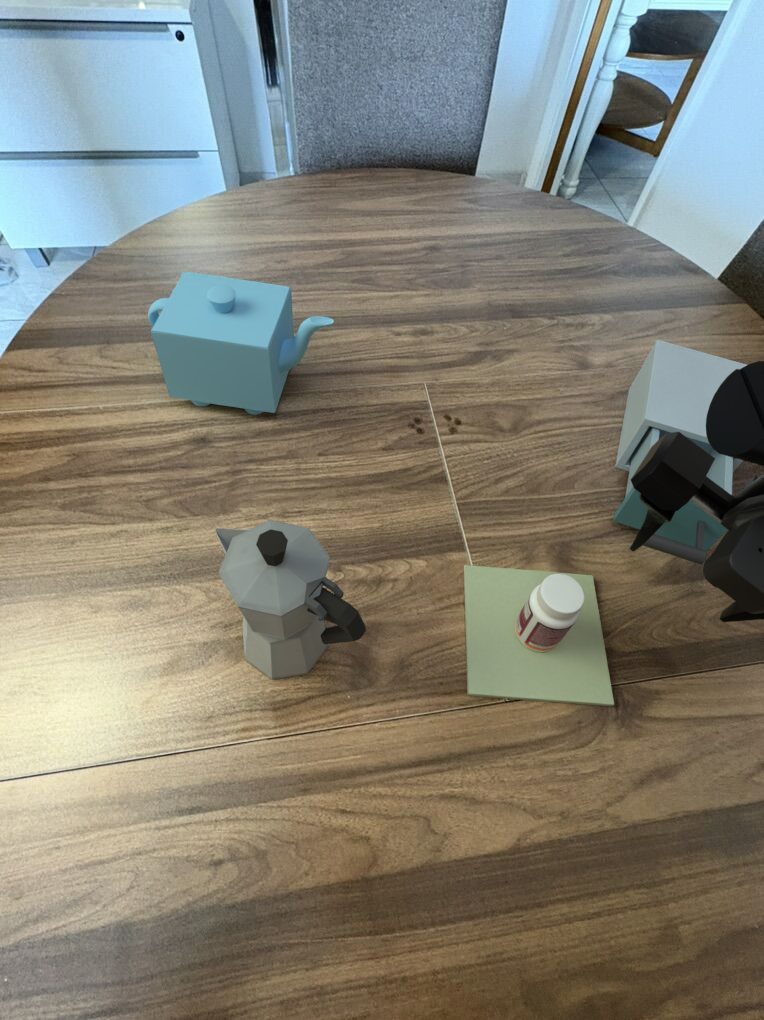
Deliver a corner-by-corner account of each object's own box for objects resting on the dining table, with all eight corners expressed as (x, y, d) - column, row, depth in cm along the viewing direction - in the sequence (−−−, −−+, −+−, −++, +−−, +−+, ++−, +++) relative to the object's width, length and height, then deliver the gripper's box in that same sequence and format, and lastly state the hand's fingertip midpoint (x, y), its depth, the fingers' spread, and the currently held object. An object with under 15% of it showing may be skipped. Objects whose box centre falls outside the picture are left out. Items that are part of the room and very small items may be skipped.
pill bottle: (570, 635, 62) (600, 598, 55) (537, 662, 60) (564, 627, 53) (536, 600, 64) (561, 560, 57) (504, 625, 62) (526, 587, 55)
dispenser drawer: (704, 590, 66) (740, 558, 60) (606, 558, 67) (632, 523, 62) (711, 464, 76) (742, 426, 71) (627, 438, 78) (650, 399, 72)
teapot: (150, 403, 76) (120, 311, 65) (179, 345, 83) (156, 252, 71) (324, 430, 76) (324, 342, 65) (340, 369, 82) (342, 279, 71)
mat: (591, 577, 67) (592, 575, 66) (612, 706, 59) (614, 704, 58) (463, 567, 66) (464, 564, 66) (467, 695, 58) (468, 693, 58)
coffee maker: (205, 636, 60) (165, 538, 45) (263, 572, 64) (245, 463, 49) (328, 726, 56) (329, 650, 41) (382, 650, 60) (400, 558, 45)
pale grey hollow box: (711, 497, 74) (752, 450, 67) (614, 467, 76) (645, 418, 69) (715, 415, 83) (752, 365, 75) (628, 390, 84) (656, 339, 77)
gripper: (683, 449, 37) (550, 569, 49) (963, 657, 34) (747, 728, 46) (728, 370, 43) (601, 493, 56) (966, 539, 41) (776, 629, 53)
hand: (676, 581), depth 53 cm, fingers open, 9 cm apart
